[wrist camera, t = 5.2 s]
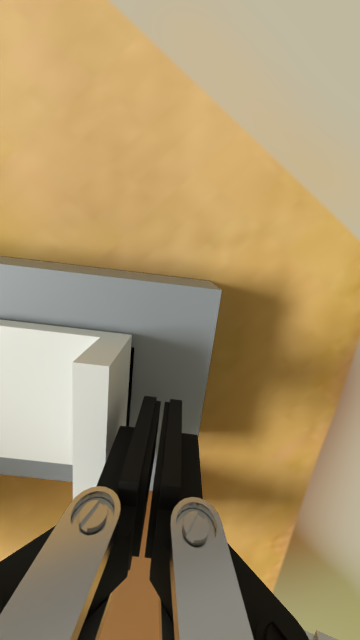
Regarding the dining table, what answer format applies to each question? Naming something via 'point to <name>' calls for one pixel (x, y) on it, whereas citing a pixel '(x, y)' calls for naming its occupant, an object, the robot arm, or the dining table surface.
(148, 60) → the dining table surface
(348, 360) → the dining table surface
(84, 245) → the dining table surface
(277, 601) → the robot arm
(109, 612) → the plug peg
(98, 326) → the socket block
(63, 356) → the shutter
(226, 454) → the dining table surface
